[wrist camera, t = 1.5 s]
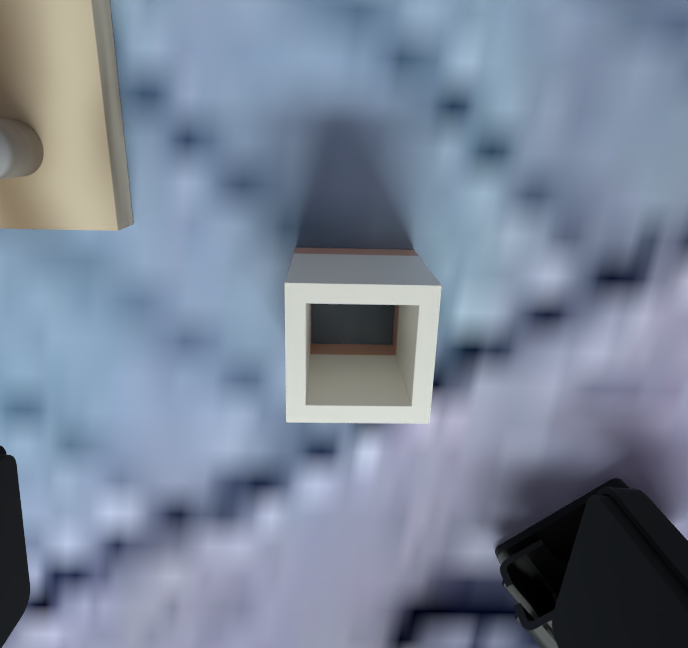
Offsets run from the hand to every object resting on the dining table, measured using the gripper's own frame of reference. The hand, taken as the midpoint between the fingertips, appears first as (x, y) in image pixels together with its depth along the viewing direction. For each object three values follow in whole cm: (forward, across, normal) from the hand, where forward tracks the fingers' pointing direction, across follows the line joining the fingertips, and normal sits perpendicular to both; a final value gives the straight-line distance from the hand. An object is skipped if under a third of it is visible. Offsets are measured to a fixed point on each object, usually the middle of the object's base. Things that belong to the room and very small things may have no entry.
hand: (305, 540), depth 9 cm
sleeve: (+19, -2, +2) cm, 20 cm away
